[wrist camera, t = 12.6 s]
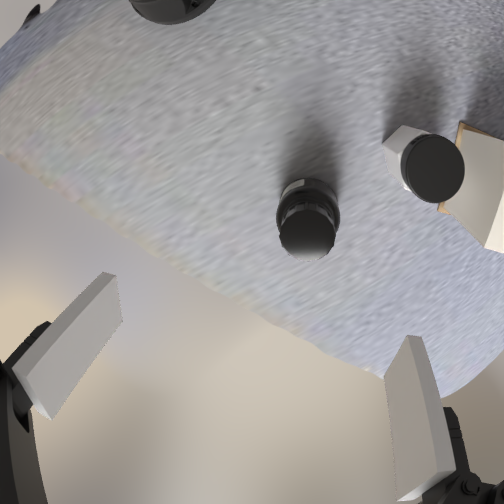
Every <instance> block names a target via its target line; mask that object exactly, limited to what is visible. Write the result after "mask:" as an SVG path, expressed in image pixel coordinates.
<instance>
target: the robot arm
mask: <svg viewBox="0 0 504 504" xmlns="http://www.w3.org/2000/svg"><path fill="white" fill-rule="evenodd" d="M129 1H130V2H131V4H132V6H133V8H134V9H135V11H136V12H137V13H138V14H139V15H141V16H142V17H143V18H145V19H147V20H150V21H152V22H155V23H158V24H164V25H172V24H179V23H183V22H186V21H189V20H191V19H193V18H195V17H197V16H199V15H200V14H202V13H203V12H205V11H206V10H207V9H208V8H209V7H210V6H211V5H212V4H213V3H214V2H215V1H216V0H129ZM122 322H123V320H122V314H121V307H120V300H119V293H118V286H117V278H116V275H112V274H109V273H105V272H102V273H101V274H100V275H99V276H98V277H97V278H96V279H95V280H94V281H93V282H92V283H91V284H90V285H89V286H88V287H87V288H86V289H85V290H84V291H83V292H82V293H81V294H80V295H79V296H78V297H77V298H76V299H75V300H74V301H73V302H72V303H71V304H70V305H69V306H68V307H67V308H66V309H65V310H64V311H63V312H62V313H61V314H60V315H59V316H58V317H57V318H56V320H55V321H54V322H53V323H50V322H48V321H46V322H44V323H43V324H41V325H40V326H37V327H36V328H35V329H34V330H33V332H32V333H31V334H30V336H28V337H27V338H26V339H25V340H24V342H23V343H21V345H19V347H18V348H17V349H16V350H15V351H14V352H13V353H12V354H11V355H10V357H9V358H8V359H7V360H6V361H5V362H4V363H3V364H2V362H1V361H0V504H48V502H47V498H46V494H45V490H44V486H43V481H42V477H41V473H40V467H39V462H38V457H37V451H36V444H35V437H34V430H33V421H32V413H31V410H30V408H31V406H32V405H34V407H35V408H36V410H37V411H38V413H40V414H42V415H43V416H45V417H47V418H48V419H50V420H53V418H54V417H55V415H56V414H57V413H58V411H59V410H60V408H61V407H62V405H63V404H64V402H65V401H66V399H67V398H68V396H69V395H70V393H71V392H72V390H73V389H74V388H75V386H76V385H77V383H78V382H79V380H80V379H81V378H82V376H83V375H84V373H85V372H86V370H87V369H88V368H89V366H90V365H91V364H92V362H93V361H94V359H95V358H96V357H97V355H98V354H99V353H100V351H101V350H102V348H103V347H104V346H105V344H106V343H107V342H108V340H109V339H110V338H111V336H112V335H113V333H114V332H115V331H116V329H117V328H118V327H119V326H120V324H121V323H122ZM384 381H385V388H386V395H387V402H388V409H389V417H390V425H391V434H392V445H393V455H394V469H395V484H396V501H406V500H414V499H416V498H417V497H419V496H420V495H422V499H423V501H421V502H420V503H418V504H504V480H503V481H502V482H500V483H499V484H497V485H493V484H487V483H482V482H481V480H480V478H479V477H478V476H477V475H476V474H474V473H472V472H470V469H469V465H468V459H467V455H466V451H465V446H464V441H463V439H462V433H461V430H460V425H459V421H458V417H457V416H456V414H455V413H454V411H453V410H452V408H451V407H442V403H441V399H440V395H439V391H438V388H437V384H436V381H435V377H434V374H433V371H432V367H431V364H430V361H429V358H428V355H427V352H426V349H425V346H424V343H423V340H422V337H419V336H411V335H407V336H406V338H405V340H404V342H403V343H402V345H401V347H400V349H399V351H398V353H397V354H396V356H395V358H394V360H393V361H392V363H391V365H390V367H389V368H388V370H387V372H386V373H385V375H384Z"/></svg>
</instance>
